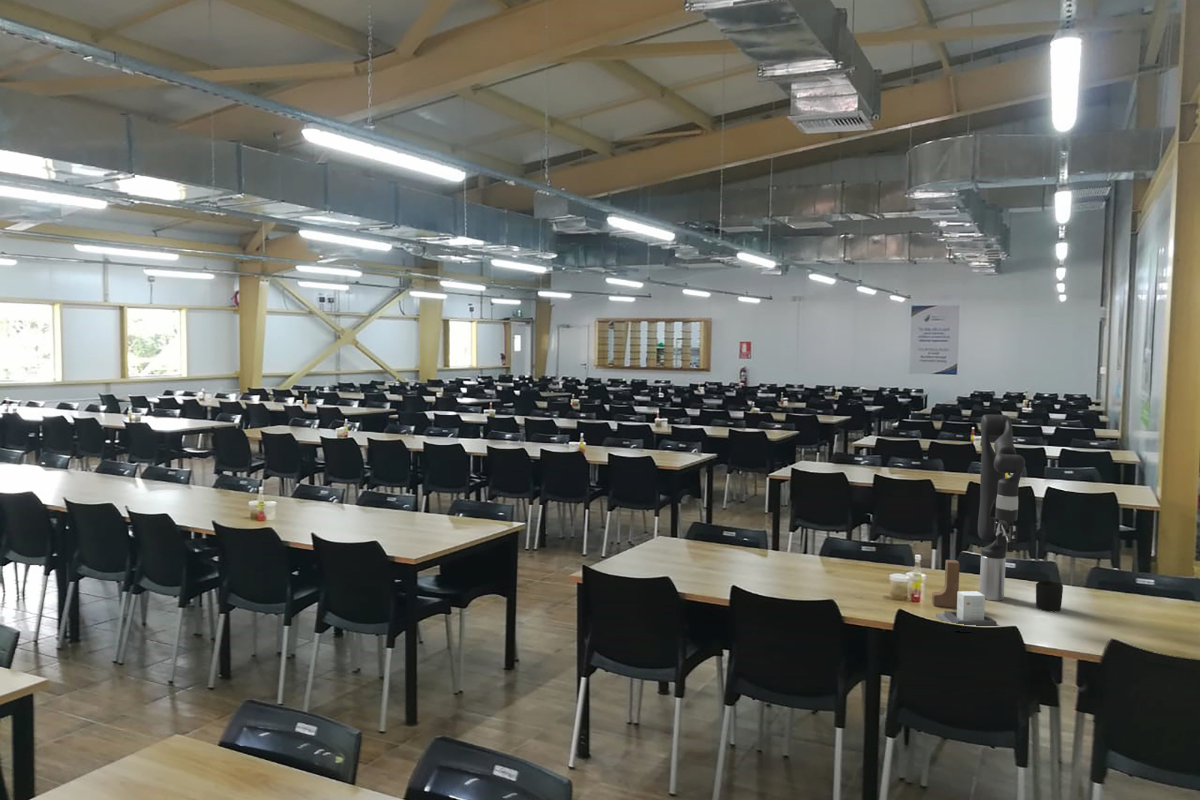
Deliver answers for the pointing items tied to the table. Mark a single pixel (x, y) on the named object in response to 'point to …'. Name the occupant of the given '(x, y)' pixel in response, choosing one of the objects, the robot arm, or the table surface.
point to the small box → (970, 605)
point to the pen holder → (1049, 595)
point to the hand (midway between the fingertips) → (1004, 548)
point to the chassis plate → (952, 617)
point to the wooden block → (948, 586)
